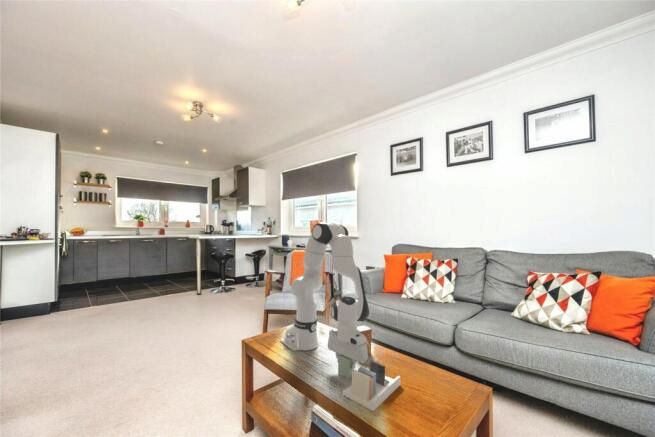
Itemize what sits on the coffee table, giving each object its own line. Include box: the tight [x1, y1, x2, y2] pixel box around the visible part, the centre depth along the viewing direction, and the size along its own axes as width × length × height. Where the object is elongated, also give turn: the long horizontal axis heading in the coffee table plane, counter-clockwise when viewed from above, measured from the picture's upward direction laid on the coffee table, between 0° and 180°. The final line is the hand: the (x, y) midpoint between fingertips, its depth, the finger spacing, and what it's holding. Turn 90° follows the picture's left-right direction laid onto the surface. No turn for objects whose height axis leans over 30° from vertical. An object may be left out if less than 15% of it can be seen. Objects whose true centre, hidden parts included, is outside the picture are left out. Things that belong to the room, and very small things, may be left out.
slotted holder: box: [342, 360, 401, 412], centre depth 109 cm, size 14×22×10 cm, turn 139°
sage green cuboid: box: [337, 354, 355, 379], centre depth 120 cm, size 6×4×8 cm, turn 49°
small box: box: [357, 325, 373, 355], centre depth 141 cm, size 8×6×13 cm
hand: (346, 365), depth 120 cm, fingers closed on sage green cuboid, 6 cm apart
